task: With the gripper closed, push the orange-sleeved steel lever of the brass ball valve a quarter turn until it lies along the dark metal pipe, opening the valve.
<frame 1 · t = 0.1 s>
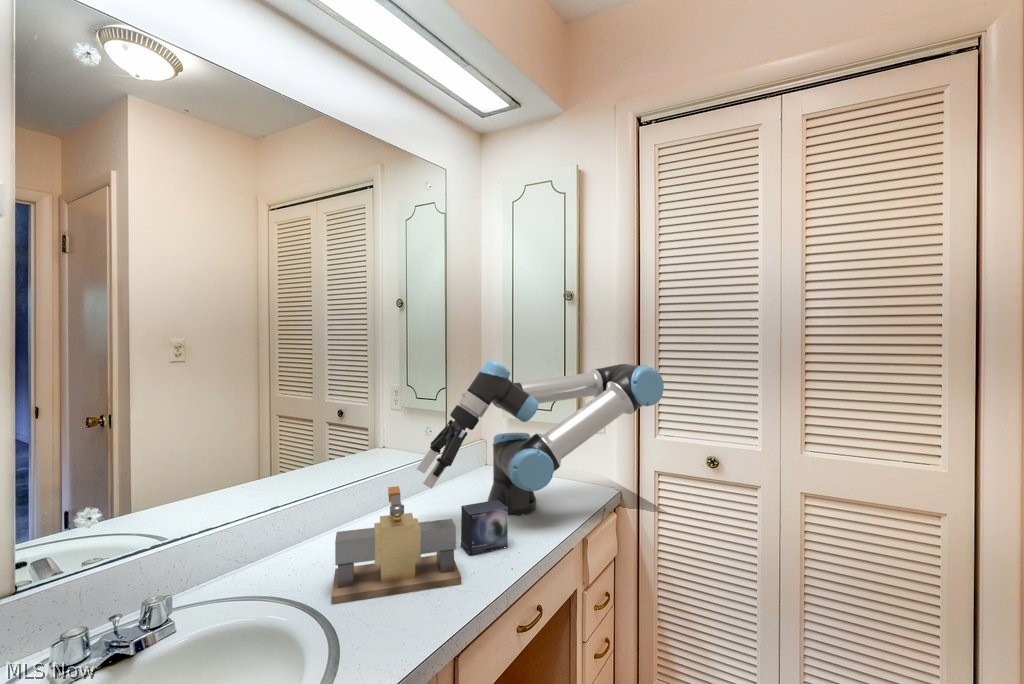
hand: (423, 478, 126), 15 cm above the countertop, tool tilted 35°, fingers open, 13 cm apart
valve lever: (395, 500, 109), point 15 cm above the countertop, hinge at 0.0°
base board: (397, 579, 103), on the countertop
small box: (484, 548, 119), on the countertop
valve: (397, 543, 103), on the base board, point 8 cm above the countertop
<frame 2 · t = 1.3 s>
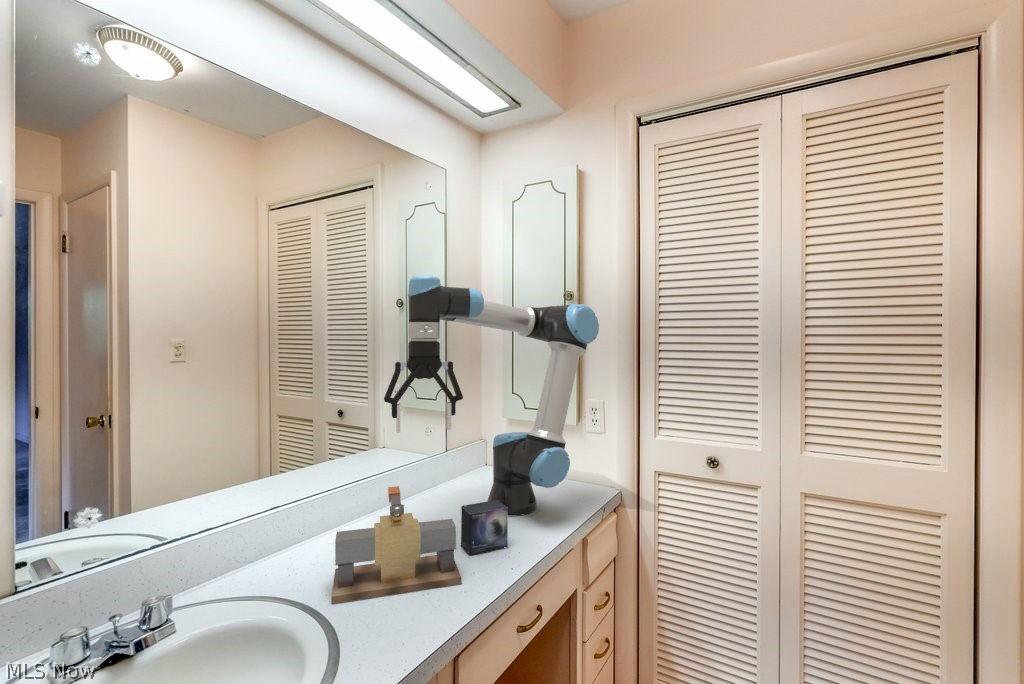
hand: (423, 430, 115), 30 cm above the countertop, tool pointing down, fingers open, 11 cm apart
nothing on the countertop moved.
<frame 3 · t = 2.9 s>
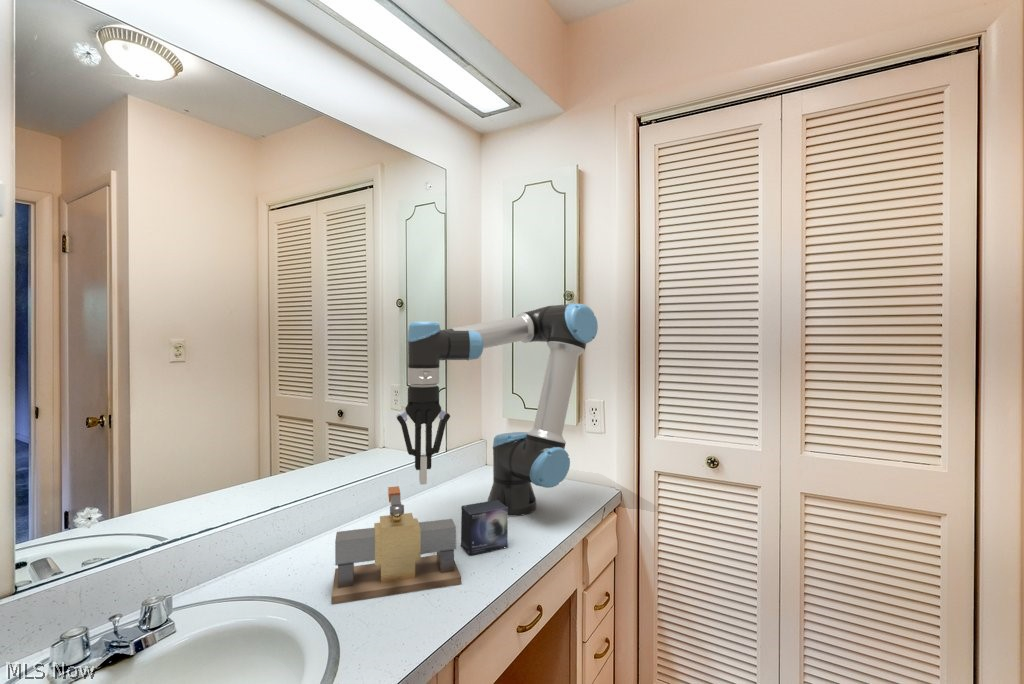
hand: (423, 482, 115), 18 cm above the countertop, tool pointing down, fingers closed
nothing on the countertop moved.
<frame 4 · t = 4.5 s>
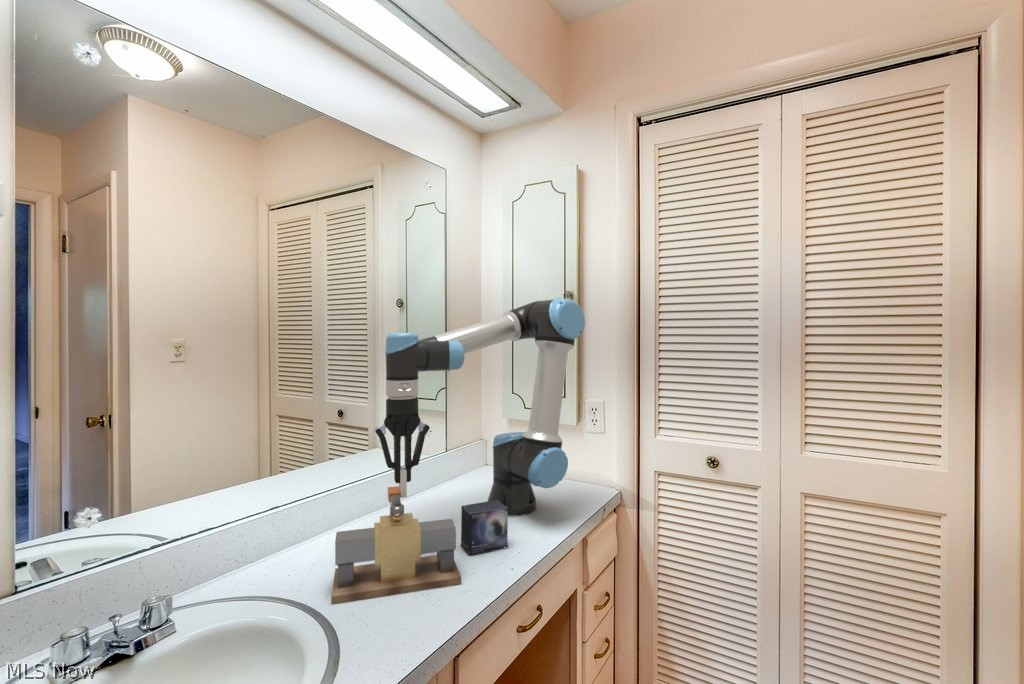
hand: (402, 495, 113), 15 cm above the countertop, tool pointing down, fingers closed
valve lever: (395, 500, 109), point 15 cm above the countertop, hinge at 0.6°, touching gripper
everything else where it was.
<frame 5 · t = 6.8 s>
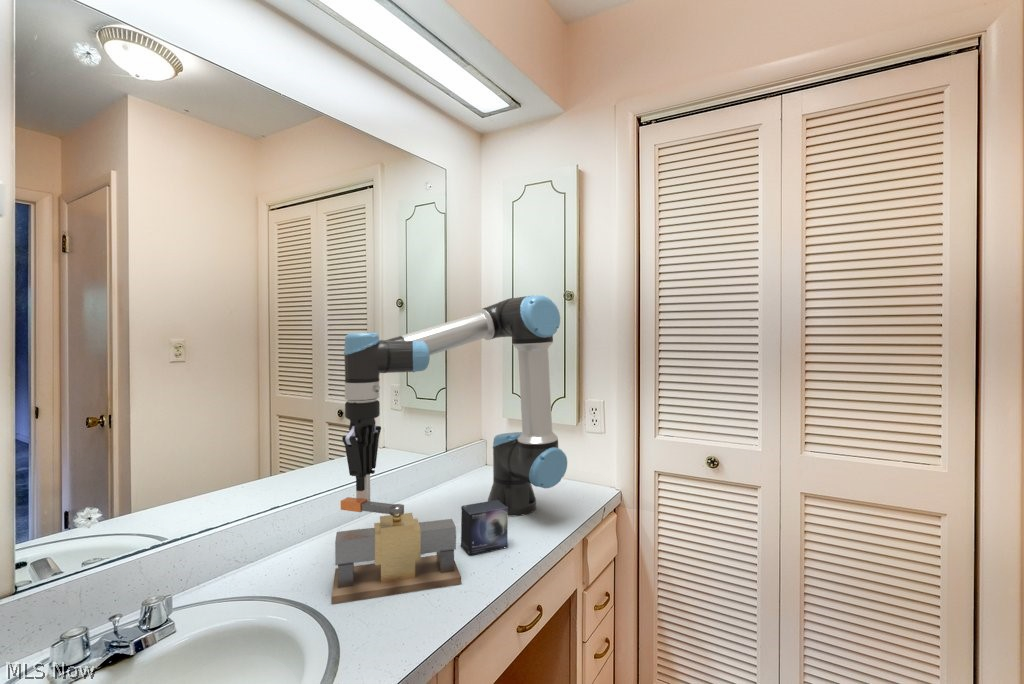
hand: (363, 503, 108), 15 cm above the countertop, tool pointing down, fingers closed
valve lever: (373, 506, 105), point 15 cm above the countertop, hinge at 55.1°, touching gripper
everything else where it was.
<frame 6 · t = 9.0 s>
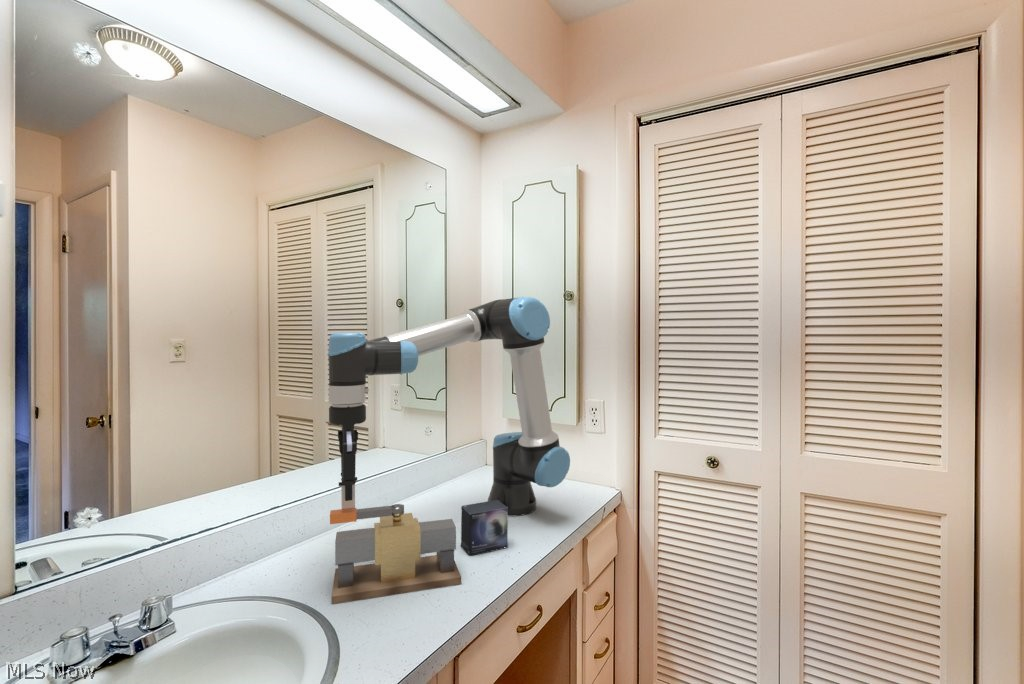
hand: (348, 513, 102), 15 cm above the countertop, tool pointing down, fingers closed
valve lever: (368, 513, 101), point 15 cm above the countertop, hinge at 91.1°, touching gripper
everything else where it was.
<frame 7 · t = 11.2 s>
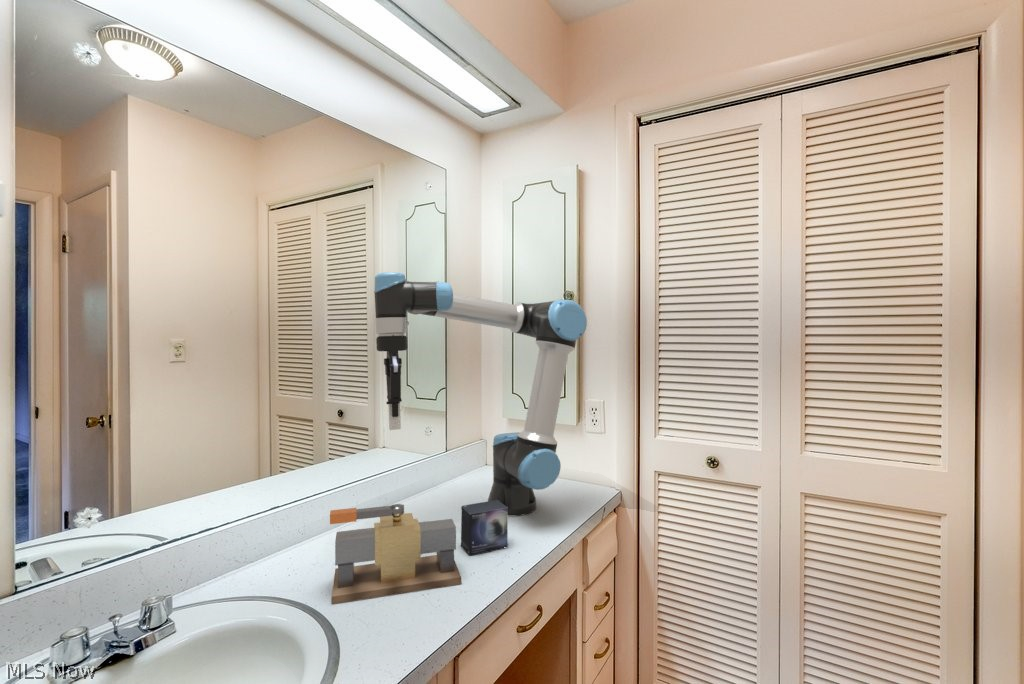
hand: (395, 428, 119), 30 cm above the countertop, tool pointing down, fingers closed
valve lever: (368, 513, 101), point 15 cm above the countertop, hinge at 91.1°
everything else where it was.
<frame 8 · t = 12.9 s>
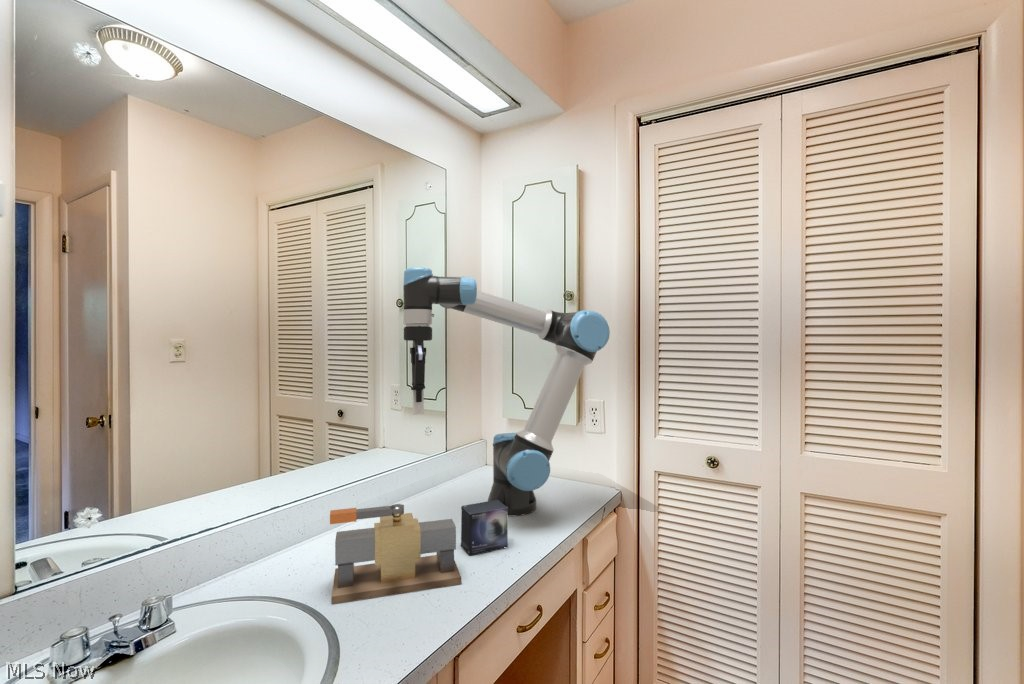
hand: (418, 413, 127), 32 cm above the countertop, tool pointing down, fingers closed
nothing on the countertop moved.
at the end: valve lever at +91° (first picture: +0°); small box moved 0.3 cm from its start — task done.
